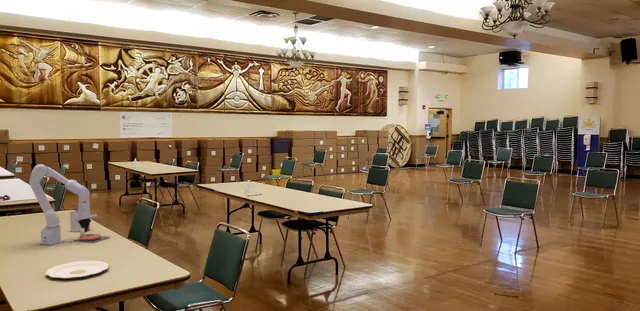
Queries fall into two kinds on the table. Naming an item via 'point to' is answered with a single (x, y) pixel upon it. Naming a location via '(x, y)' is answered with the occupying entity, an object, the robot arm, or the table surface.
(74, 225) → the ink cartridge box
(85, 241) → the bench plate
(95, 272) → the plate
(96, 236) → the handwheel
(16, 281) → the table surface
